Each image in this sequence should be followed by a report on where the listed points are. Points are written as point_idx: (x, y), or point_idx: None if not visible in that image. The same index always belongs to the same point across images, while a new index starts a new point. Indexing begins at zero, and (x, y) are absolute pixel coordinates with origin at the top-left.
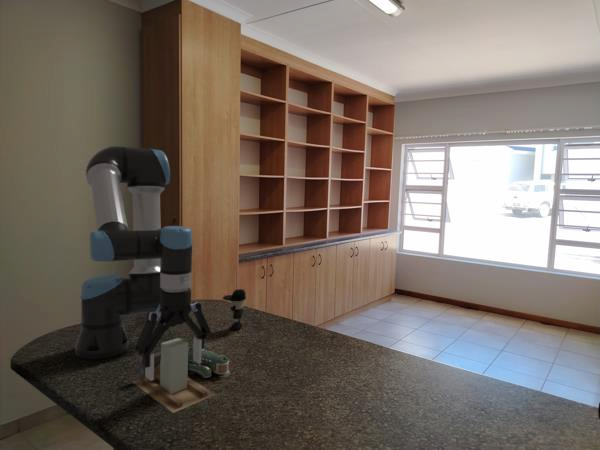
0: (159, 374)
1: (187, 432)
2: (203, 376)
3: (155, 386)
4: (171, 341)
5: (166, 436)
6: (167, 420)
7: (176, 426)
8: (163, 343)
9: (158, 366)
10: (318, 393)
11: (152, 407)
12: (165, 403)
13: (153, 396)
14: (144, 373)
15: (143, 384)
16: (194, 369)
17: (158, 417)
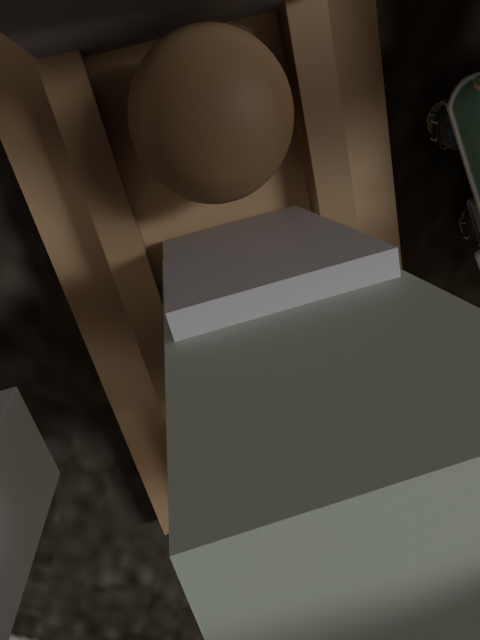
0: (171, 189)
1: (191, 614)
2: (475, 252)
3: (120, 266)
4: (419, 543)
5: (104, 615)
6: (134, 521)
7: (161, 570)
8: (213, 601)
9: (177, 118)
10: None
11: (82, 389)
12: (149, 441)
13: (94, 339)
14: (40, 45)
15: (45, 117)
16: (473, 169)
17: (97, 487)
